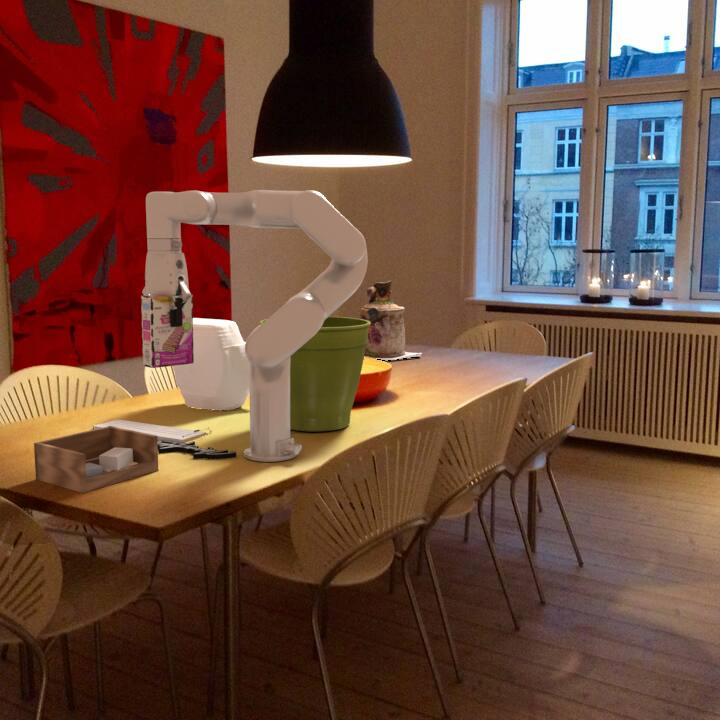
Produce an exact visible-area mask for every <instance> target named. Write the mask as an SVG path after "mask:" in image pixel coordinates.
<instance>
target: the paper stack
mask: <svg viewBox="0 0 720 720" xmlns="http://www.w3.org/2000/svg"><path fill="white" fill-rule="evenodd" d="M245 343H246V341H244V338H243V337H242V335H241V333H240V328H239V326H238V325H237V323H236V322H235V321H232V320H229V319H228V320H227V319H215V318H200V317H193V354H194V363H192V364H184V365H176V366H172V368H173V371H174V372H173V373H174V379H175V385H176V387H177V388H179V390H180V394H181V396H182V398H183V399H184V403H185V406H189V407H194V408H201V409H214V410H227V411H232V410H235V409H238V408H241V407H242V406H244V405H245V403H246V402H247V398H248V396H249V395H250V362H249V361H248V359H247V357H246V354H245ZM189 407H188V408H189Z"/></svg>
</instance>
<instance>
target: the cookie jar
mask: <svg viewBox="0 0 720 720" xmlns="http://www.w3.org/2000/svg"><path fill="white" fill-rule="evenodd" d="M392 283H393V281H392V280H388V281H386V282H378V281H377V282H375V283H374V284H373V285H372V286H371V287H370V286H369V287H368V288H367V289H366V293H367V295H366V296H367V297H369V298H370V299H369V300H368V303H367V304H365V305H364V306H363V308H362V307H361V309H360V310H359V319H363V320H367V321H370V326H369V327H368V336H367V344H366V346H365V353H364V356H369V357H372V358H376V359H381V360H380V361H382V360H385V361H384V362H389V361H388V360H391V361H398V360H397V359H399V360H404V359H403V358H407V359H412V358H411V357H417V356H420V357H421V355H422V352H410V351H409V352H408V351H405V349H404V348H405V346H406V328H405V323H404V322H405V321H404V312H405V310H406V309H405V307H404V306H399V305H398V304H395V303H394V302H393V301H392V300H391V299H390V297H391V295H392V293H393V291H392Z"/></svg>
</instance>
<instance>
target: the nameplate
mask: <svg viewBox="0 0 720 720" xmlns="http://www.w3.org/2000/svg"><path fill="white" fill-rule="evenodd" d="M157 442H158V454H168V453H176V452H177V453H179V452H180V453H185V454H186V453H187V454H188V453H189V454H191V455H192V459H193V460H202V459H203V458H205V459H203V460H226V459H227V458H228V459H233V458H236V457H237V451H235V450H231V451H230V452H229V449H220V450H217V449H215V448H214V447H211V446H208V447H207V448H203V447H200V446H199V445H196V442H195V441H194V440H191V441H188V442H185V443H182V442H175V441H167V440H160V439H157Z"/></svg>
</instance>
